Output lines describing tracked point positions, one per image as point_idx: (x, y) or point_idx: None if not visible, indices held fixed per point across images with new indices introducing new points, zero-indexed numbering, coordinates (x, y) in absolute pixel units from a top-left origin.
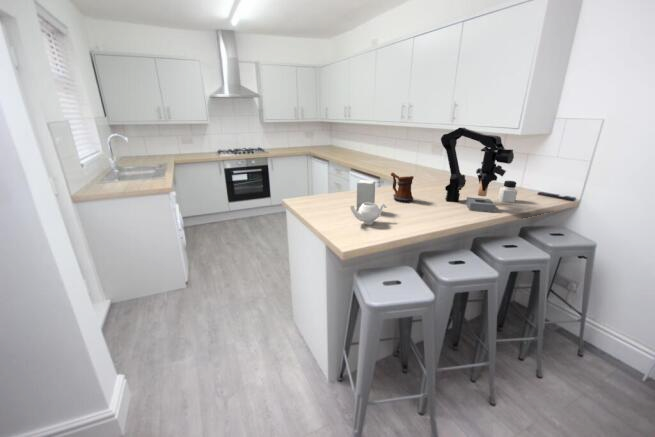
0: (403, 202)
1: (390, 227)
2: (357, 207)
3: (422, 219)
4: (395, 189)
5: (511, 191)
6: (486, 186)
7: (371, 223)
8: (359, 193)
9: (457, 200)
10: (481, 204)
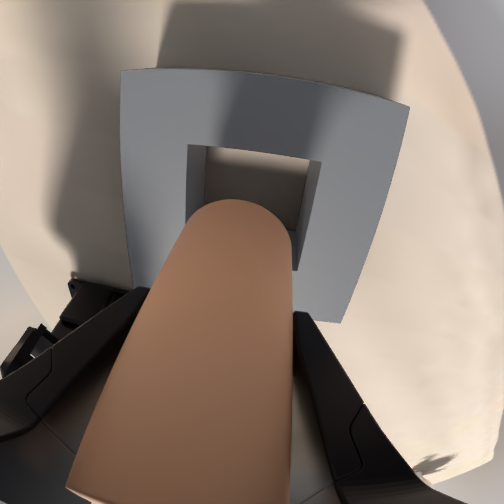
0: None
1: (447, 456)
2: None
3: (424, 432)
4: None
5: None
6: (344, 395)
7: (421, 473)
8: None
9: (116, 295)
10: (369, 245)
